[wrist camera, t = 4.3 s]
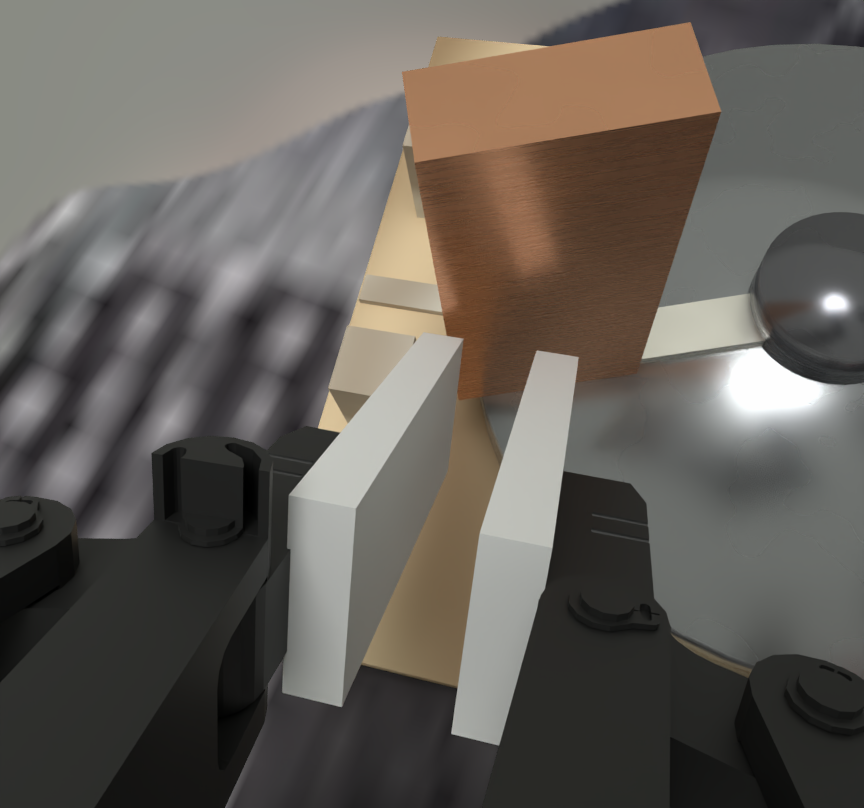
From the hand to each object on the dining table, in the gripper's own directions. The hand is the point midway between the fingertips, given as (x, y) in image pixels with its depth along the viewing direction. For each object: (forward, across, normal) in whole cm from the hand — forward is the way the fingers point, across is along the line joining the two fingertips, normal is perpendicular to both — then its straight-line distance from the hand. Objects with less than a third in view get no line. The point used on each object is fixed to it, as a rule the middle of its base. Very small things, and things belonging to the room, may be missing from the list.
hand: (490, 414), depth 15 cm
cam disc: (+6, +7, 0) cm, 9 cm away
